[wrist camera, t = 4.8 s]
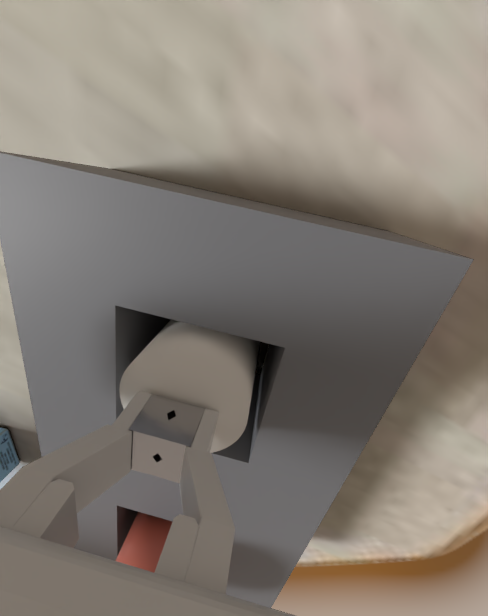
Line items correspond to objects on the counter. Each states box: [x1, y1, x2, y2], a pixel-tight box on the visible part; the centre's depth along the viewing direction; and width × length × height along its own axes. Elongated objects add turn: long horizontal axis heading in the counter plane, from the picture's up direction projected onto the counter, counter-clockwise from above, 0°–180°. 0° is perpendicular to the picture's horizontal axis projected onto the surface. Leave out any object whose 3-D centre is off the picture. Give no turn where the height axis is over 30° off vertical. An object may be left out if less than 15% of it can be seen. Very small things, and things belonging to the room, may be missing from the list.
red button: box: [115, 512, 173, 572], centre depth 14 cm, size 5×5×6 cm
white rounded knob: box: [119, 319, 260, 453], centre depth 12 cm, size 5×5×6 cm
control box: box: [0, 152, 474, 608], centre depth 15 cm, size 26×14×6 cm, turn 169°
